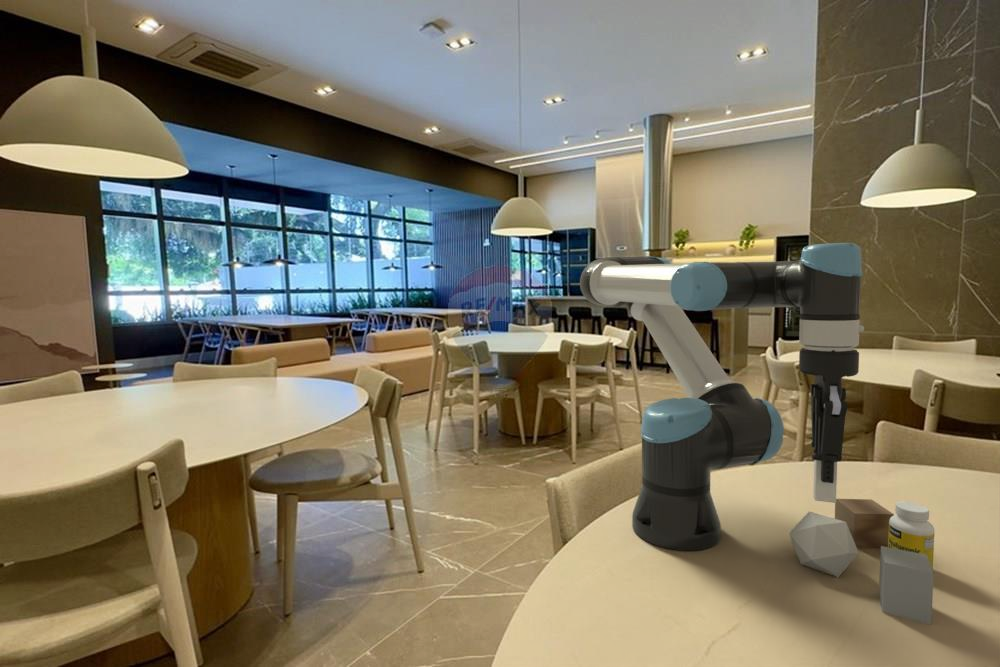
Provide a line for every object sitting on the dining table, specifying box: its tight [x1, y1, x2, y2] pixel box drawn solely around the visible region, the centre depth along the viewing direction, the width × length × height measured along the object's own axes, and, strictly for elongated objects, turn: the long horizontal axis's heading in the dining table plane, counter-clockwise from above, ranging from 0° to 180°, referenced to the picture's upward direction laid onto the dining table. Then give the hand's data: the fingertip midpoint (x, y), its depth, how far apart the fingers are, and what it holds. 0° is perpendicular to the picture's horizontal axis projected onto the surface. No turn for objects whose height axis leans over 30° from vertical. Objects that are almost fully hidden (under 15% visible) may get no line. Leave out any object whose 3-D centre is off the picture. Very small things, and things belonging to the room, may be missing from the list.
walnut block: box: [834, 498, 895, 550], centre depth 86 cm, size 6×6×6 cm
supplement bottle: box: [888, 500, 935, 571], centre depth 77 cm, size 5×5×10 cm
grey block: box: [878, 546, 934, 625], centre depth 68 cm, size 5×5×7 cm
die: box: [788, 511, 859, 578], centre depth 78 cm, size 8×9×10 cm
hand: (824, 499), depth 78 cm, fingers closed
